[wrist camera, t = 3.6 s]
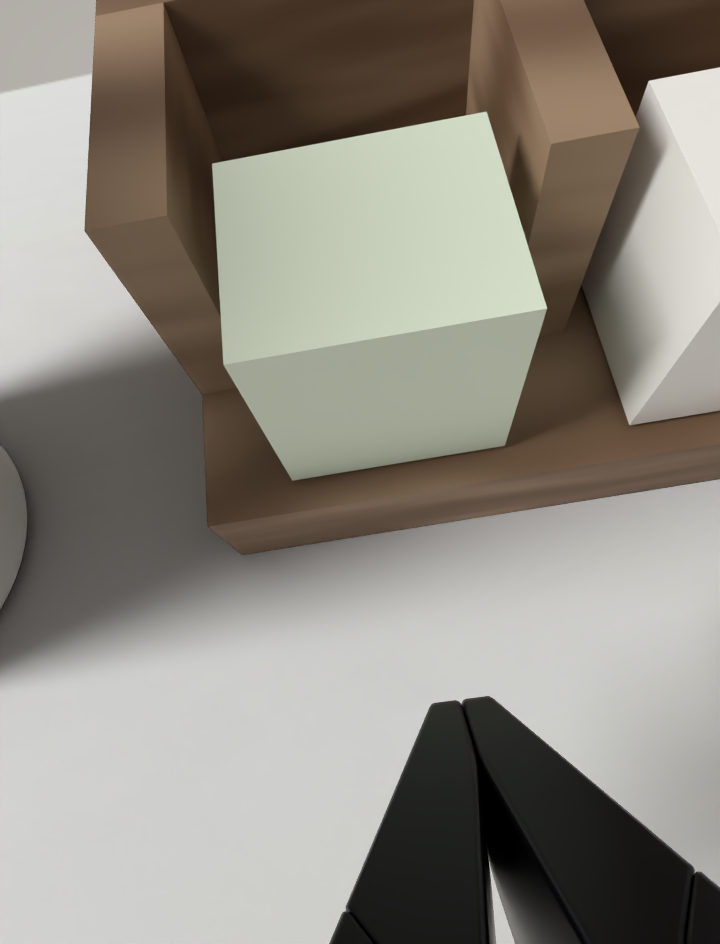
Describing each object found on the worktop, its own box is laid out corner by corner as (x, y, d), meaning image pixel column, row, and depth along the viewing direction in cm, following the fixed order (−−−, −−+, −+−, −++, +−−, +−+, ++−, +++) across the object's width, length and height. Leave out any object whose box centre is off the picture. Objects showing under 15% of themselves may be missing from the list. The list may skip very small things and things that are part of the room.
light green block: (504, 445, 19) (547, 308, 13) (292, 480, 20) (223, 364, 13) (467, 295, 21) (486, 111, 15) (277, 329, 22) (212, 163, 15)
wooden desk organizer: (870, 455, 22) (1417, 148, 10) (242, 554, 23) (39, 389, 11) (723, 160, 28) (956, -265, 16) (223, 251, 29) (75, -80, 17)
